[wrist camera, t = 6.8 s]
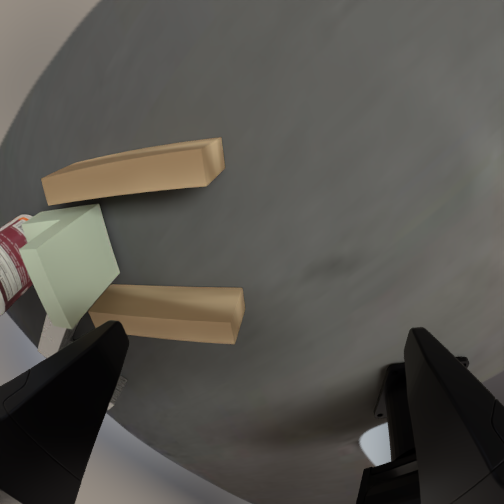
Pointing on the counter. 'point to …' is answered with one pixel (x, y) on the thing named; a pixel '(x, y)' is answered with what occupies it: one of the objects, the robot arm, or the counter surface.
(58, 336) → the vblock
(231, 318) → the channel
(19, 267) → the pill bottle
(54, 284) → the block
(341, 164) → the counter surface
